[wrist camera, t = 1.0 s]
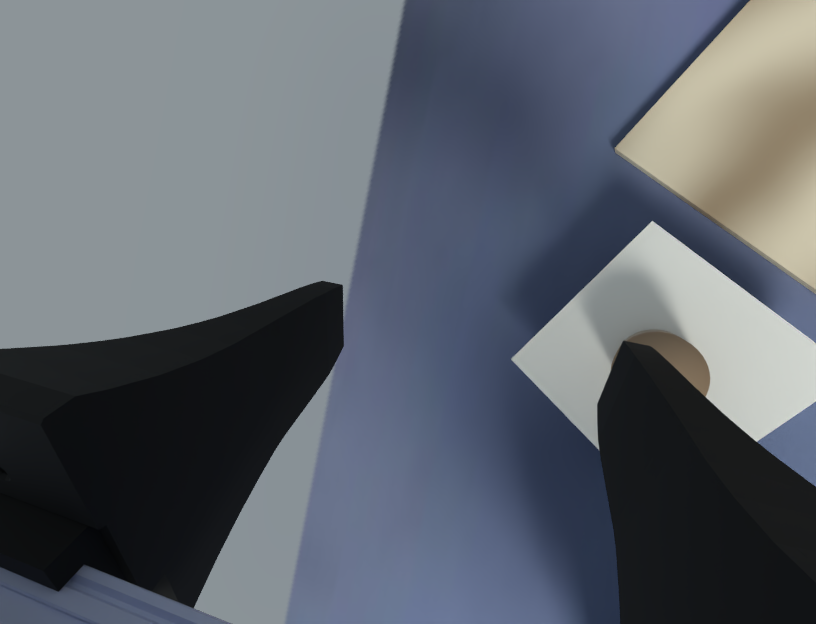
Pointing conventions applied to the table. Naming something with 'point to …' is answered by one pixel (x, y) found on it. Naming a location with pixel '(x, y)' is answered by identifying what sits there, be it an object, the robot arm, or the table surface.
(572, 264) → the table surface
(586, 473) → the table surface
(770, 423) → the lid
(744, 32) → the birch board
